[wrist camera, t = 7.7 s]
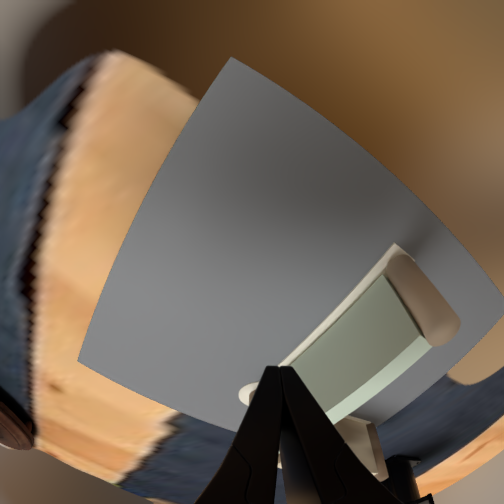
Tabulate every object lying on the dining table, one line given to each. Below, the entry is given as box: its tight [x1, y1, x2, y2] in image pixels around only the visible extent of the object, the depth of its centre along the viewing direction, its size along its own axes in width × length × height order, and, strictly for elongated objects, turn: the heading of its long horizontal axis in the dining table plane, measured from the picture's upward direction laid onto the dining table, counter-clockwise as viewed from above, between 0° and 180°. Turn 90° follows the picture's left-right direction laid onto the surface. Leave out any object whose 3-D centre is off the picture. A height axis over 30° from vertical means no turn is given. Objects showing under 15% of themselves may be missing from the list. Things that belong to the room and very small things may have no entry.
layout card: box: [77, 57, 504, 432], centre depth 18 cm, size 24×21×1 cm
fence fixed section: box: [249, 390, 389, 482], centre depth 18 cm, size 13×2×6 cm, turn 56°
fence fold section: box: [279, 254, 461, 454], centre depth 14 cm, size 12×2×5 cm, turn 146°
